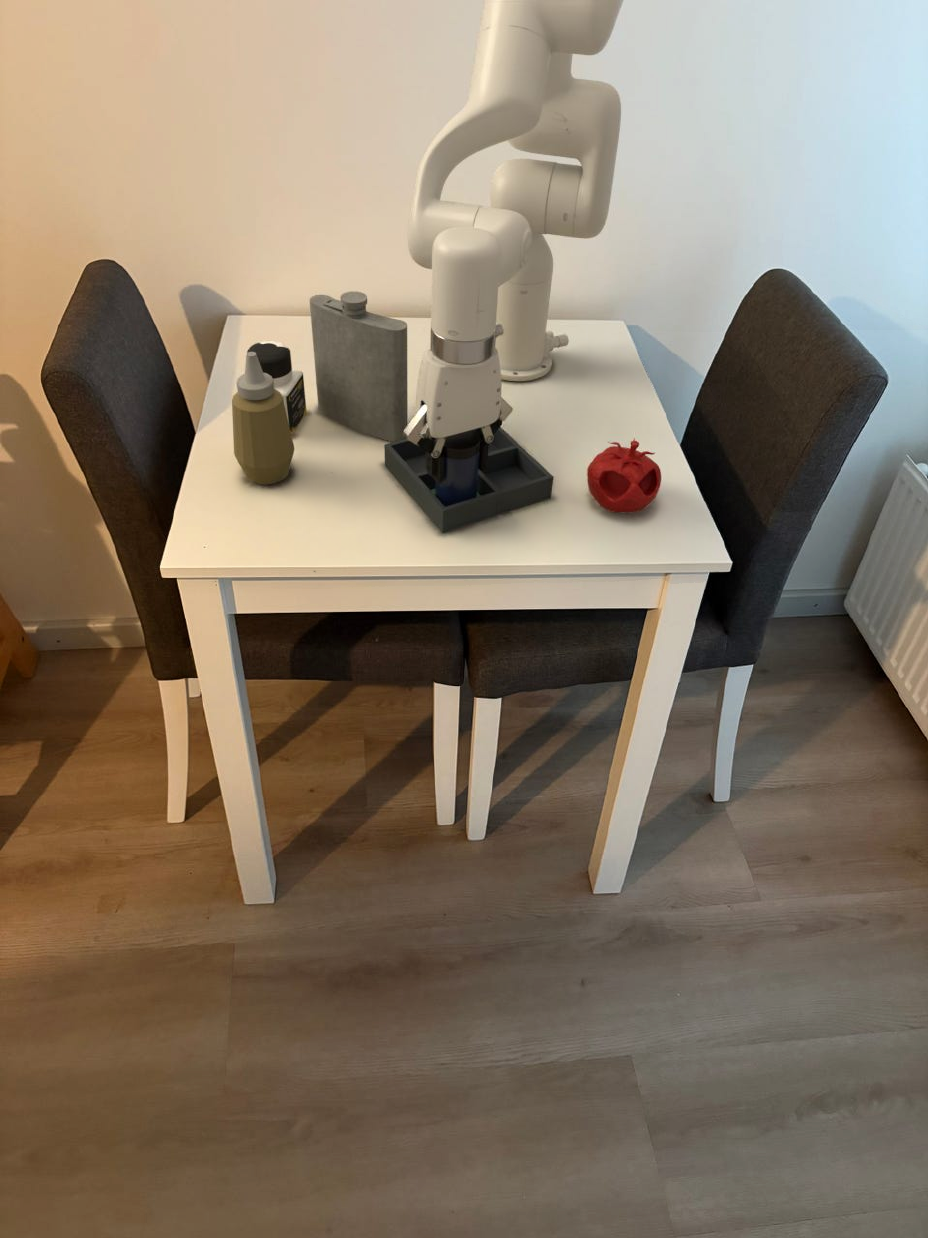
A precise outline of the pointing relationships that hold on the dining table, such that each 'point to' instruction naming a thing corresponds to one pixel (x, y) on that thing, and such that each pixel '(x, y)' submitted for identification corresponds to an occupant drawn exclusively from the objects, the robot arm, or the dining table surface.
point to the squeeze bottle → (260, 426)
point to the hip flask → (360, 366)
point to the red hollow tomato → (623, 478)
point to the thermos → (459, 468)
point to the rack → (499, 487)
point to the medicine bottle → (283, 378)
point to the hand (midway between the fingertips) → (456, 469)
